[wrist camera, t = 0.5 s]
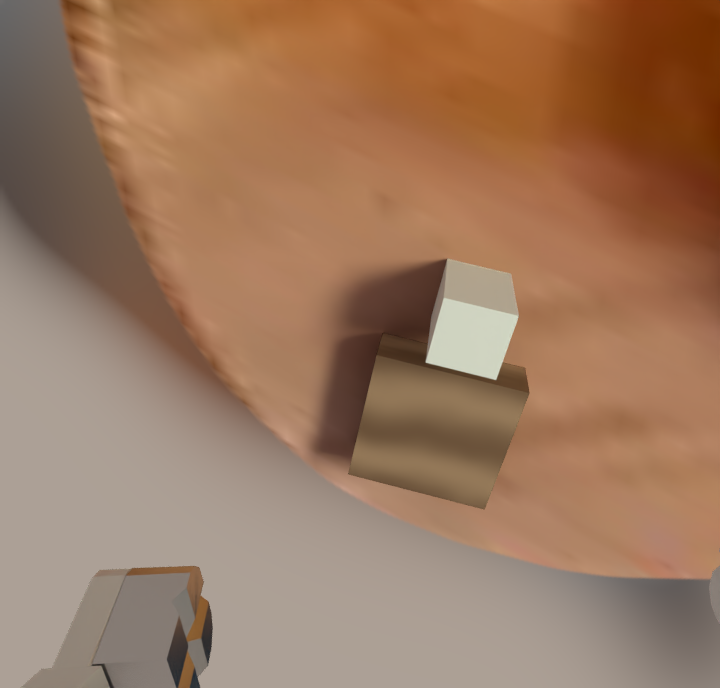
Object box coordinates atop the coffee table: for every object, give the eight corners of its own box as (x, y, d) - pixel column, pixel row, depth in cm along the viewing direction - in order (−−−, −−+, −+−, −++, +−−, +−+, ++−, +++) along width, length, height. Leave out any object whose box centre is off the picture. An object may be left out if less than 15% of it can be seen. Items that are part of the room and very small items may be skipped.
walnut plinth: (382, 332, 51) (376, 355, 48) (525, 368, 51) (529, 393, 47) (355, 446, 57) (348, 474, 53) (483, 479, 56) (484, 509, 53)
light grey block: (447, 258, 48) (443, 297, 41) (511, 273, 48) (518, 315, 40) (431, 316, 50) (425, 362, 43) (492, 330, 50) (496, 380, 43)
